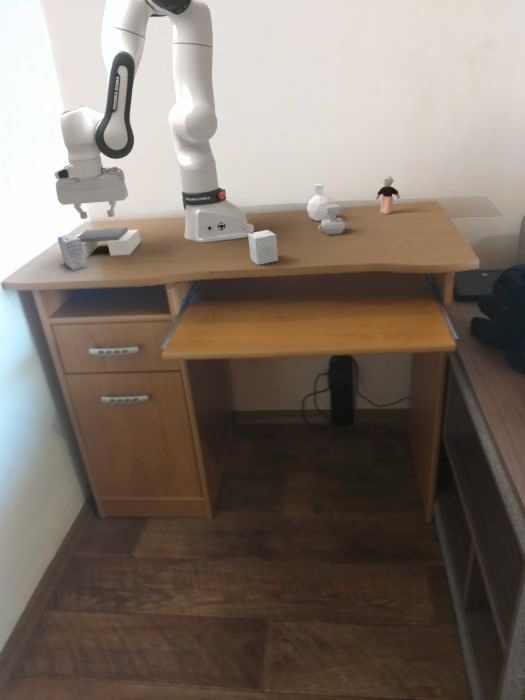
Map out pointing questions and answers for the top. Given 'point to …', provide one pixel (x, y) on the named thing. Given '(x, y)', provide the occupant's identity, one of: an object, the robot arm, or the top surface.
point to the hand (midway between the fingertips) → (98, 217)
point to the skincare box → (263, 247)
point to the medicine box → (72, 251)
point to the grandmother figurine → (387, 195)
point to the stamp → (332, 221)
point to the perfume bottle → (319, 204)
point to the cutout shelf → (110, 240)
